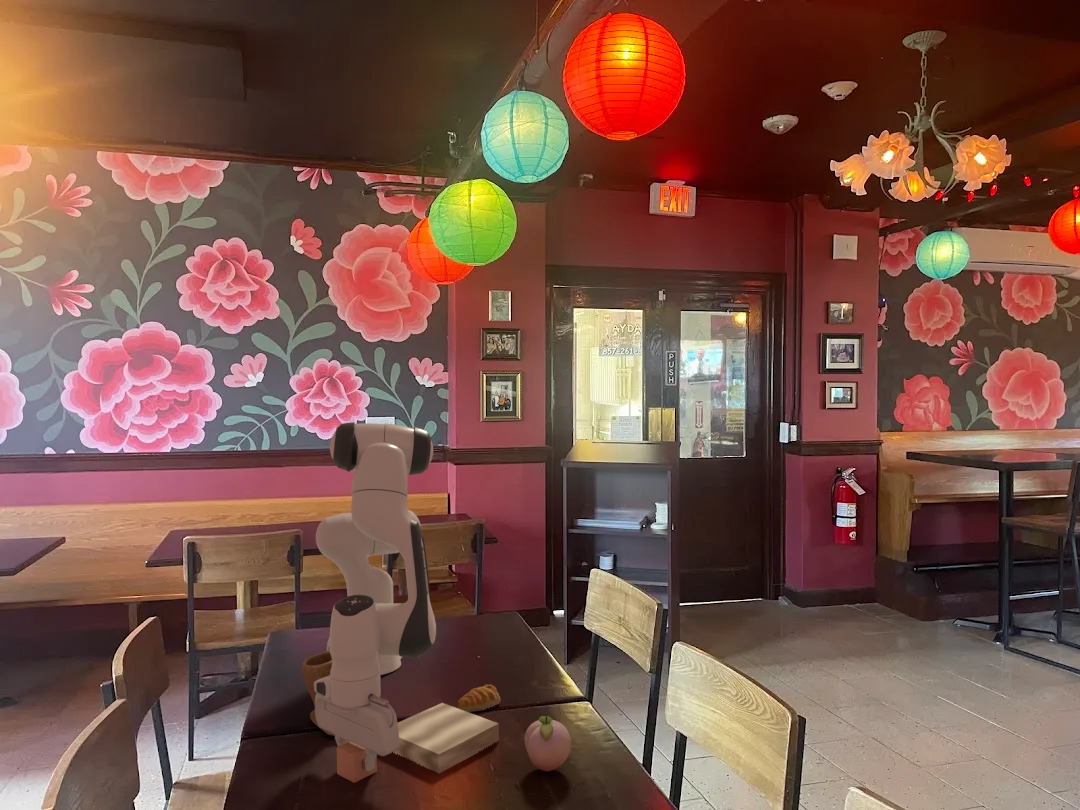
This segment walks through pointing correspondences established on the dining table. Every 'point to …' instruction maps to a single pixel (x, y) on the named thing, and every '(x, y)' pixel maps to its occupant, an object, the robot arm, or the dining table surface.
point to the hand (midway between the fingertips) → (357, 763)
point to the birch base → (444, 736)
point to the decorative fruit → (547, 743)
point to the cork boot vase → (316, 676)
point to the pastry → (479, 699)
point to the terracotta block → (352, 762)
